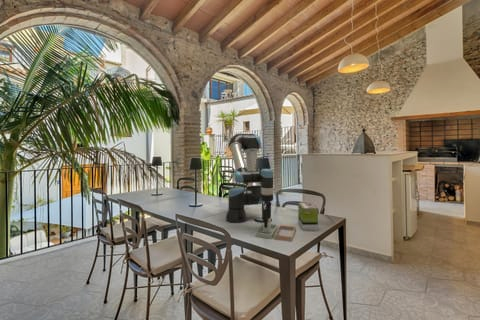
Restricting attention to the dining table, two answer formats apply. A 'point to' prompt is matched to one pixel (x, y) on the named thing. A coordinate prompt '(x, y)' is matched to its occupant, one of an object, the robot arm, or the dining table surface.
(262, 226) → the tray
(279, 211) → the dining table surface
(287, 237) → the tray
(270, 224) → the letter block
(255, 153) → the robot arm
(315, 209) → the tea box
